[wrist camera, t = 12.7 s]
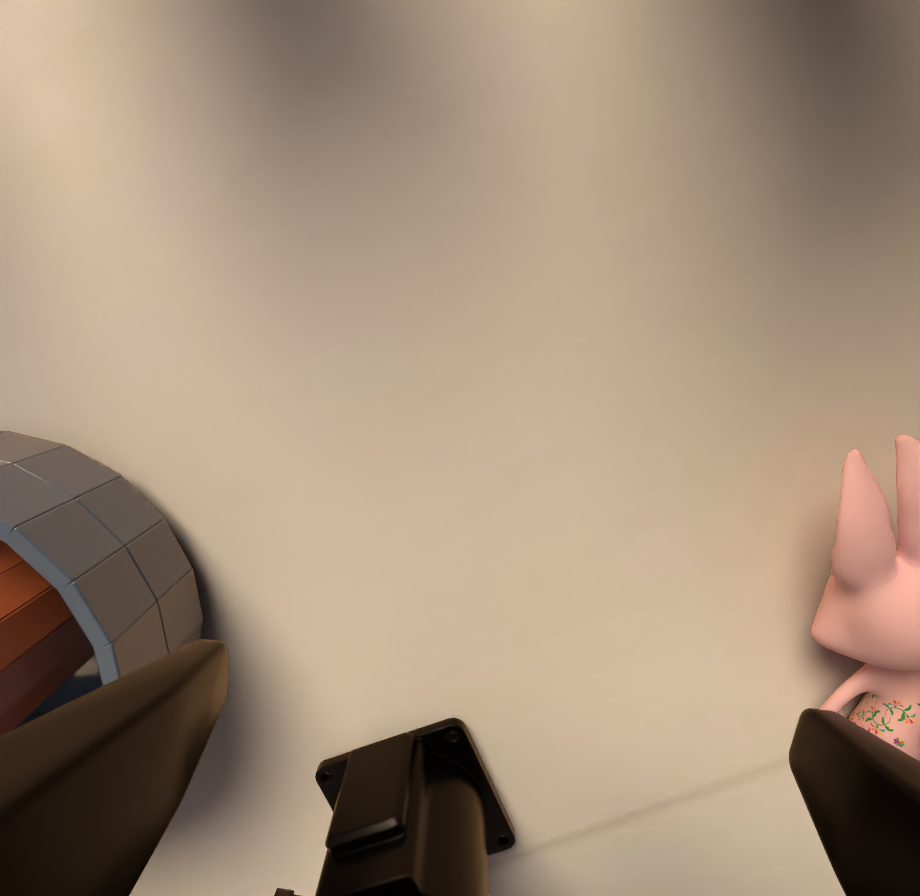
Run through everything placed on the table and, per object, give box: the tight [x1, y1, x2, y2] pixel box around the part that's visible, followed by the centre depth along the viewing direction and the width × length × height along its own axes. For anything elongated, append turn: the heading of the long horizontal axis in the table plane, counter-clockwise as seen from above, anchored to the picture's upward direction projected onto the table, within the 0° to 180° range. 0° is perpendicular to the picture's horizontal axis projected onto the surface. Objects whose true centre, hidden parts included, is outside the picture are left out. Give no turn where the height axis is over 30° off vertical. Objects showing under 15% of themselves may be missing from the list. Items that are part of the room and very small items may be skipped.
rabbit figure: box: [811, 435, 920, 761], centre depth 19 cm, size 6×6×15 cm
